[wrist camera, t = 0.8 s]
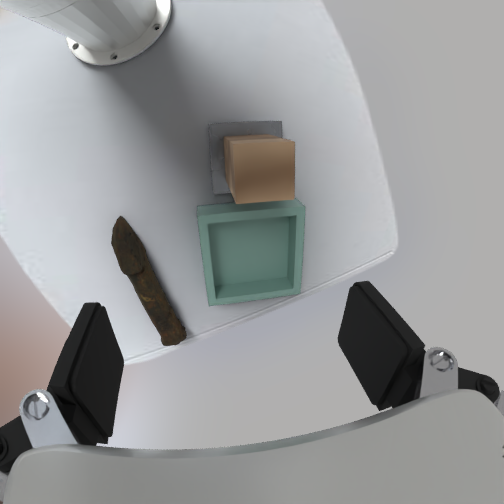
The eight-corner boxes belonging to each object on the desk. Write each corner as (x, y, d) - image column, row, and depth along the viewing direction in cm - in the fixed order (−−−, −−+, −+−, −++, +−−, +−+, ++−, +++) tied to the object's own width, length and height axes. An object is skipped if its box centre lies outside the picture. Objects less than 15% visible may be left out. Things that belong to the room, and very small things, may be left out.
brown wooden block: (223, 136, 29) (233, 143, 21) (268, 134, 30) (294, 141, 22) (225, 180, 31) (236, 204, 23) (269, 177, 32) (294, 199, 24)
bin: (197, 206, 33) (197, 216, 30) (295, 197, 35) (305, 206, 32) (207, 290, 38) (208, 306, 35) (292, 279, 40) (300, 293, 37)
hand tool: (187, 325, 41) (187, 347, 37) (162, 331, 41) (161, 353, 37) (141, 208, 32) (134, 221, 28) (112, 217, 32) (102, 232, 28)
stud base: (208, 124, 29) (209, 124, 25) (279, 121, 30) (289, 121, 26) (213, 192, 32) (215, 202, 29) (279, 186, 34) (289, 195, 30)
